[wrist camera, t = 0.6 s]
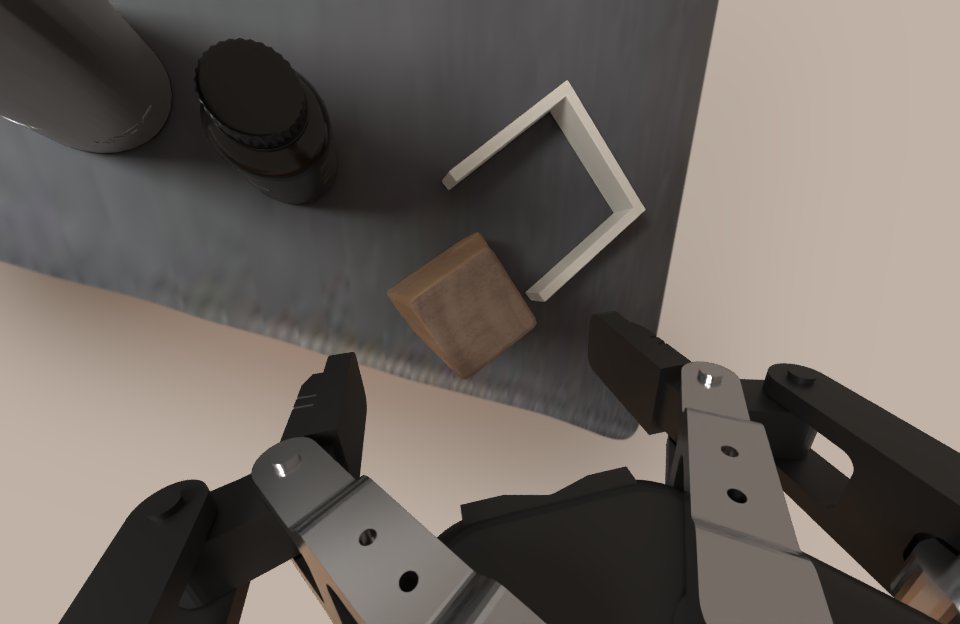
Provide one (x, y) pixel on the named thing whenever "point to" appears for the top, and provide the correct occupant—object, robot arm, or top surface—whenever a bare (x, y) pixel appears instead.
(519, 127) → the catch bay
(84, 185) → the top surface
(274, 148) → the supplement bottle
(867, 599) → the robot arm
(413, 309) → the wooden block
